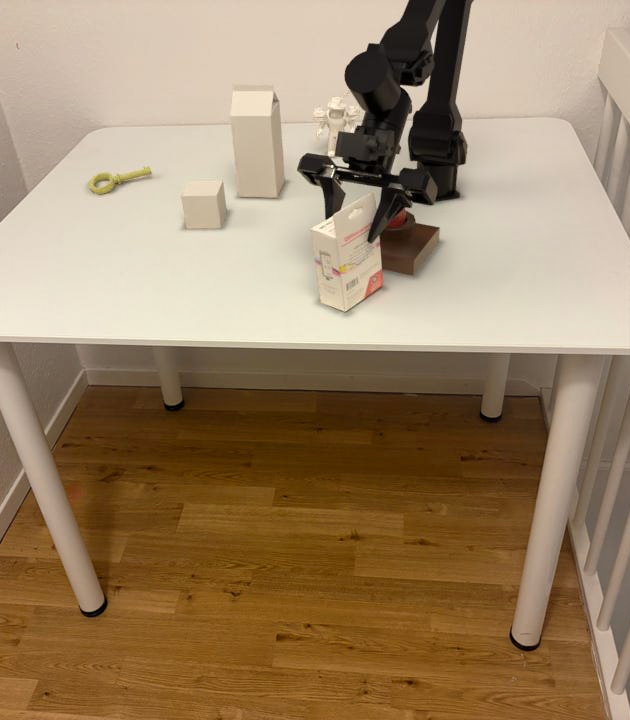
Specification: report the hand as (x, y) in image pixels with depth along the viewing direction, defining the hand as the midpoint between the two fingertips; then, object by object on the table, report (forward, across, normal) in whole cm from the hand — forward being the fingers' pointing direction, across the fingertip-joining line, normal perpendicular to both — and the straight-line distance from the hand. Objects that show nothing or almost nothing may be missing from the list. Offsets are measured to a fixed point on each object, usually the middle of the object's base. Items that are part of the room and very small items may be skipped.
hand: (348, 238), depth 98 cm
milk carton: (-12, -30, +25) cm, 41 cm away
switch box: (-3, 0, +16) cm, 17 cm away
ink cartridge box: (+6, 0, +6) cm, 9 cm away
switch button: (-8, 0, +15) cm, 17 cm away
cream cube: (-2, -33, +15) cm, 36 cm away
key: (-6, -57, +20) cm, 61 cm away
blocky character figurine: (-26, -24, +39) cm, 52 cm away
